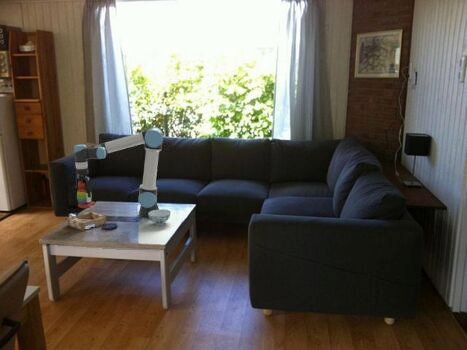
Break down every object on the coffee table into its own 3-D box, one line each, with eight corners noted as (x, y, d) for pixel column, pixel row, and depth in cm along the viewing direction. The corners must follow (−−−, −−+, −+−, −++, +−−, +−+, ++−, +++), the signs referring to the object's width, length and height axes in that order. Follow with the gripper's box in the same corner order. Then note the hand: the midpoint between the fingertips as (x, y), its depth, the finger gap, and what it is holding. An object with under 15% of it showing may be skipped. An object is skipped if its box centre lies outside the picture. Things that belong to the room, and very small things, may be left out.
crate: (106, 223, 285) (106, 216, 284) (82, 231, 272) (81, 223, 271) (91, 218, 297) (91, 211, 296) (68, 225, 283) (67, 217, 282)
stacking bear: (88, 208, 275) (85, 182, 271) (74, 207, 277) (71, 181, 273) (96, 203, 285) (94, 178, 281) (83, 203, 287) (80, 178, 283)
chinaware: (174, 220, 290) (174, 210, 288) (165, 228, 276) (164, 216, 274) (154, 219, 294) (154, 208, 292) (145, 226, 280) (144, 215, 278)
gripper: (96, 169, 272) (99, 202, 276) (78, 165, 285) (81, 196, 290) (85, 171, 266) (88, 204, 271) (68, 166, 280) (71, 199, 285)
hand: (84, 200), depth 281 cm, fingers closed on stacking bear, 9 cm apart
